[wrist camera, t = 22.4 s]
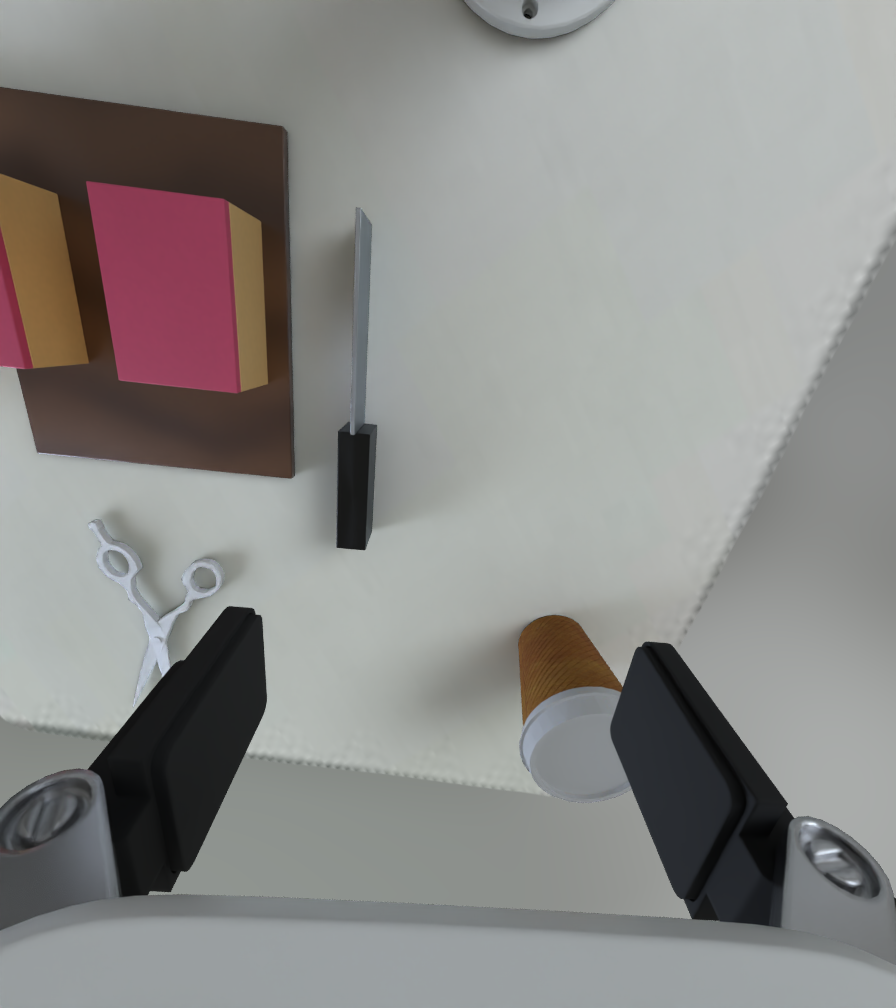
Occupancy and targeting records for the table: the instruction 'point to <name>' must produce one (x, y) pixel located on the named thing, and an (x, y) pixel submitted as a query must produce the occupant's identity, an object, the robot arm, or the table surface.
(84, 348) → the cake slice
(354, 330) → the knife
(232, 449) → the cake board
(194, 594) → the scissors
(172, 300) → the cake
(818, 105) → the table surface
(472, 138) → the table surface
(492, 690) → the table surface
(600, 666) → the disposable coffee cup
